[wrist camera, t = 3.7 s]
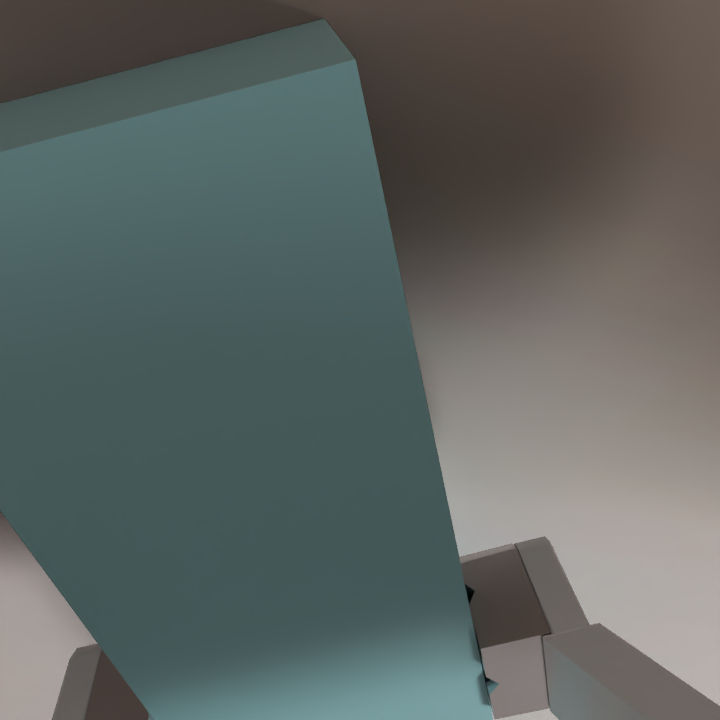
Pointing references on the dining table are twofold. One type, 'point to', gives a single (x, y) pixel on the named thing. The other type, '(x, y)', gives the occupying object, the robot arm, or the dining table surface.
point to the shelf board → (227, 392)
